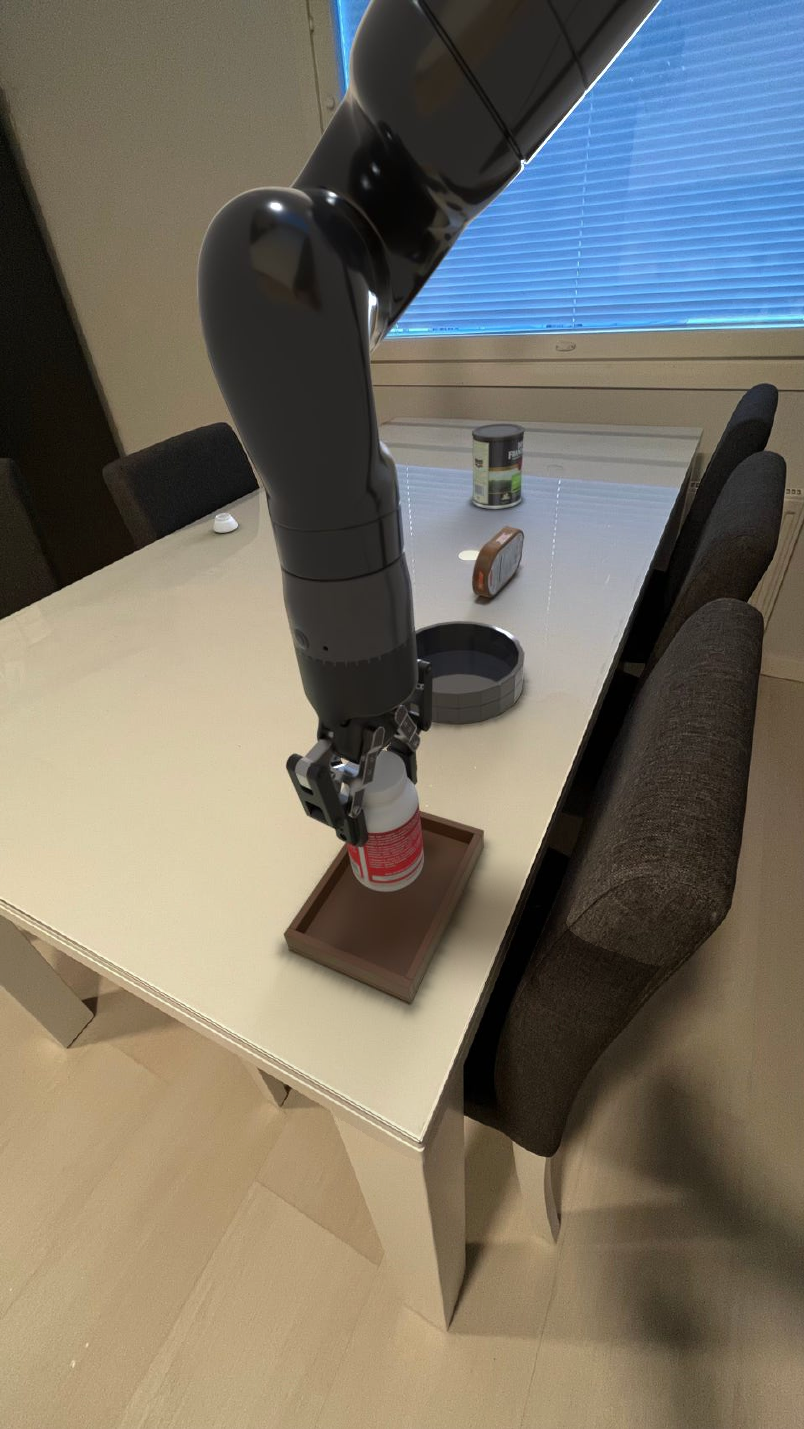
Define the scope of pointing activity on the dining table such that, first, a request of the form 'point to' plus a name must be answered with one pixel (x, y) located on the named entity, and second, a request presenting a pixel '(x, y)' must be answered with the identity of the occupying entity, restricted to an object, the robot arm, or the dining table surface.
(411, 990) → the tray
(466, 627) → the bowl
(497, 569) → the tin
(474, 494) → the coffee can
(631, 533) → the dining table surface
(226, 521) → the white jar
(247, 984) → the dining table surface
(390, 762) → the pill bottle
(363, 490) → the robot arm
